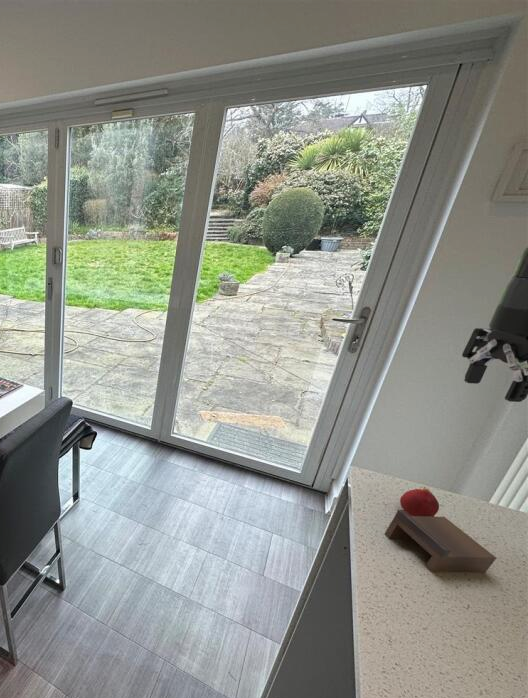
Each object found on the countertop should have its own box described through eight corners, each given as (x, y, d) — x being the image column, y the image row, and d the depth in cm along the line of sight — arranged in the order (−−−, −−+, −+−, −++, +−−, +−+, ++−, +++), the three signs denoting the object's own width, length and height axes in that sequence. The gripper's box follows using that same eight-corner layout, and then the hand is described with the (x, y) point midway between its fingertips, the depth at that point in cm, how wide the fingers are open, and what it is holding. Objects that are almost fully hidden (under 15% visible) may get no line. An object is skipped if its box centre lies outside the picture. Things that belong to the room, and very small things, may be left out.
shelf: (432, 534, 84) (448, 510, 81) (482, 577, 75) (502, 551, 72) (384, 533, 84) (398, 509, 81) (427, 575, 75) (445, 550, 72)
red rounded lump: (432, 520, 87) (451, 491, 84) (424, 531, 84) (443, 502, 81) (398, 504, 92) (415, 475, 88) (389, 514, 89) (406, 485, 85)
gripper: (606, 314, 63) (554, 409, 69) (517, 297, 75) (480, 378, 82) (548, 313, 64) (502, 406, 70) (470, 296, 77) (437, 376, 83)
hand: (490, 391), depth 76 cm, fingers open, 8 cm apart
